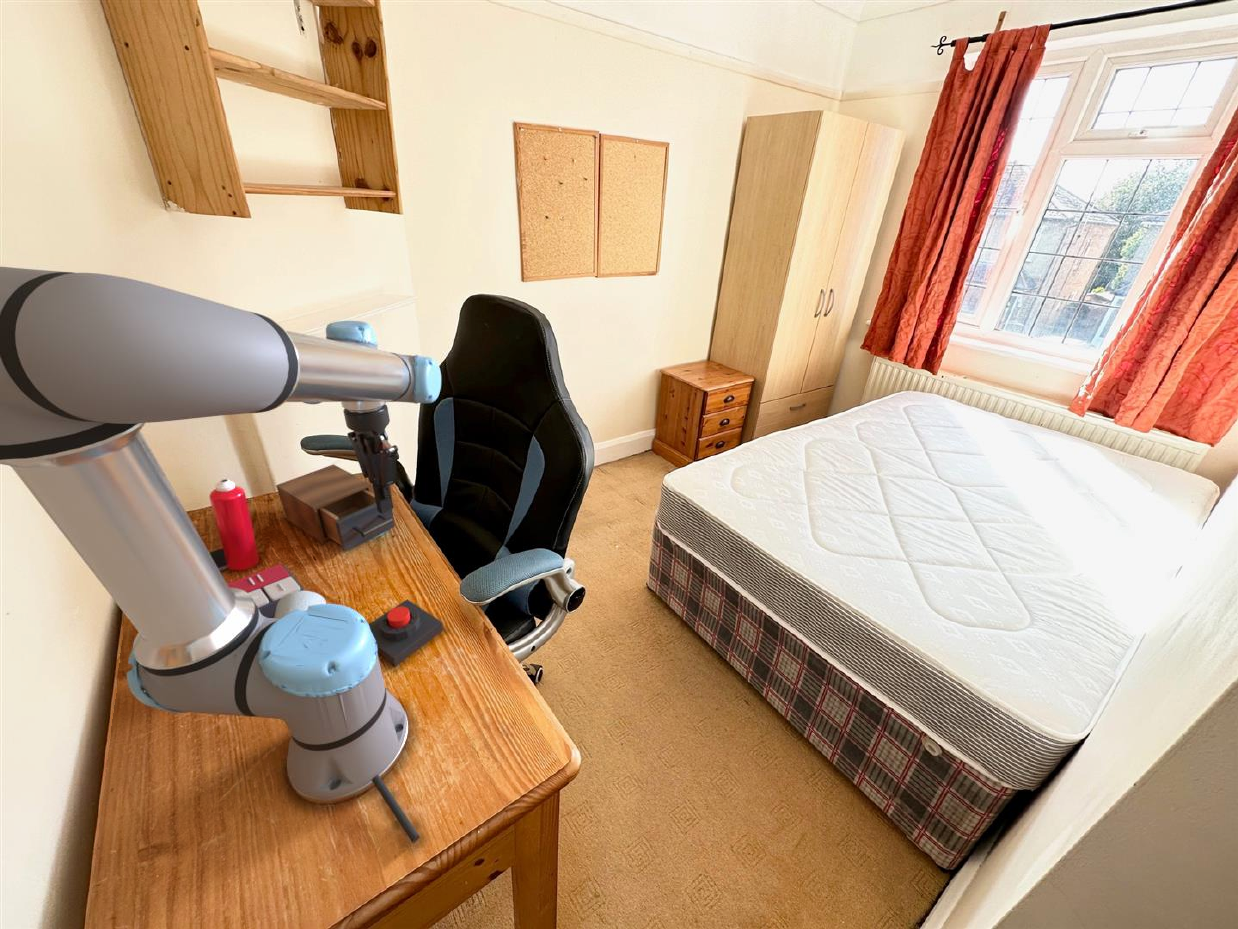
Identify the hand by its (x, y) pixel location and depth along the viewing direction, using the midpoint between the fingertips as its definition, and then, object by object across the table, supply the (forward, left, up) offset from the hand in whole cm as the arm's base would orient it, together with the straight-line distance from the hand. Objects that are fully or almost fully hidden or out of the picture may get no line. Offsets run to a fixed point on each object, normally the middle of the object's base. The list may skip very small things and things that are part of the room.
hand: (385, 509), depth 102 cm
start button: (-21, +13, -9) cm, 26 cm away
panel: (-21, +13, -12) cm, 28 cm away
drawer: (+13, 0, -11) cm, 17 cm away
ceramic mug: (-8, +22, -12) cm, 27 cm away
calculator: (+7, +25, -12) cm, 29 cm away
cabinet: (+24, 0, -12) cm, 27 cm away
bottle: (+22, +20, -12) cm, 32 cm away
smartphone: (+27, +28, -12) cm, 41 cm away
